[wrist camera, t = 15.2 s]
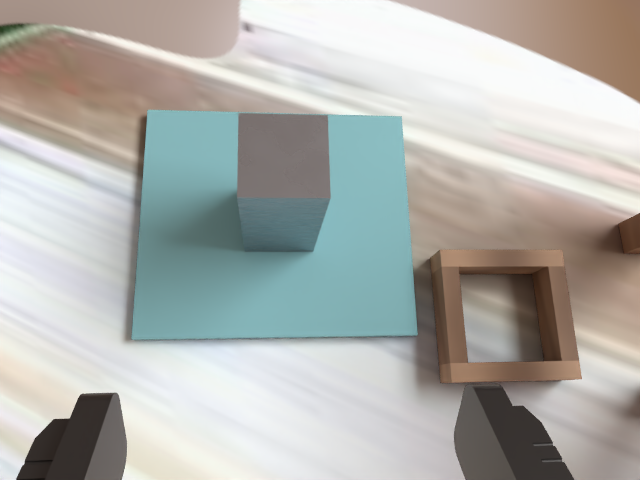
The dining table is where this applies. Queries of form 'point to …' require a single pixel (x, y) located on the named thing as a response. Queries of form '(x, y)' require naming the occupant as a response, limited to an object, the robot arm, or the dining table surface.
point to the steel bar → (282, 180)
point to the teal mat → (271, 267)
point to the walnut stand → (550, 303)
